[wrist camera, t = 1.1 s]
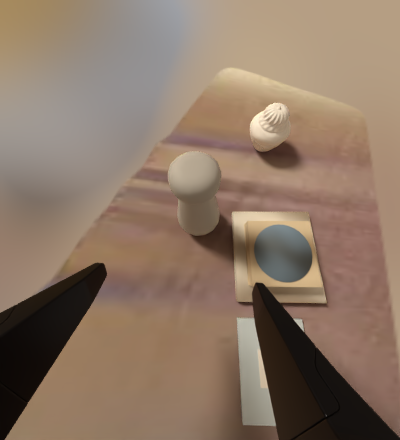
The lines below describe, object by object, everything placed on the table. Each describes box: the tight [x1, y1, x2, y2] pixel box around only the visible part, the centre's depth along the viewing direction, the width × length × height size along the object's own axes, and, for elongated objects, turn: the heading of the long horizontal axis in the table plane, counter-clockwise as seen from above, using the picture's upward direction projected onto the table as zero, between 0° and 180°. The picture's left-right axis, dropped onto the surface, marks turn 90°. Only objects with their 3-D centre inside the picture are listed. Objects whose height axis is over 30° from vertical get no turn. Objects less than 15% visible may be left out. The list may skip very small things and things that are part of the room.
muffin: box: [250, 103, 291, 152], centre depth 25 cm, size 6×6×7 cm
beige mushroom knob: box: [168, 151, 221, 236], centre depth 18 cm, size 6×6×13 cm
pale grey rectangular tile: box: [237, 318, 304, 426], centre depth 18 cm, size 10×8×1 cm
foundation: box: [232, 212, 327, 303], centre depth 21 cm, size 12×11×3 cm
